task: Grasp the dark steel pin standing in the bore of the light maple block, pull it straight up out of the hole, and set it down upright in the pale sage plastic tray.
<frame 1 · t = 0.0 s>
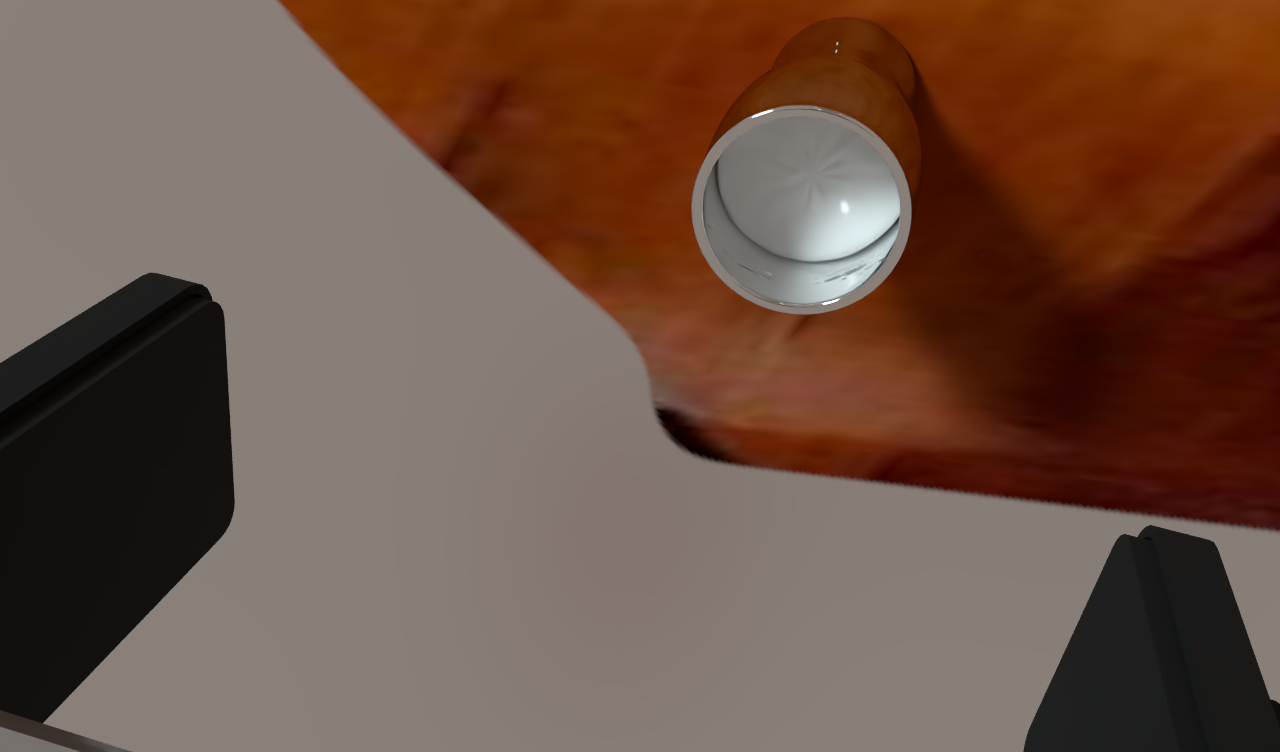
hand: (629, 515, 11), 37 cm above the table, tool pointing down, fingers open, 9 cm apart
beer glass: (841, 91, 46), on the table
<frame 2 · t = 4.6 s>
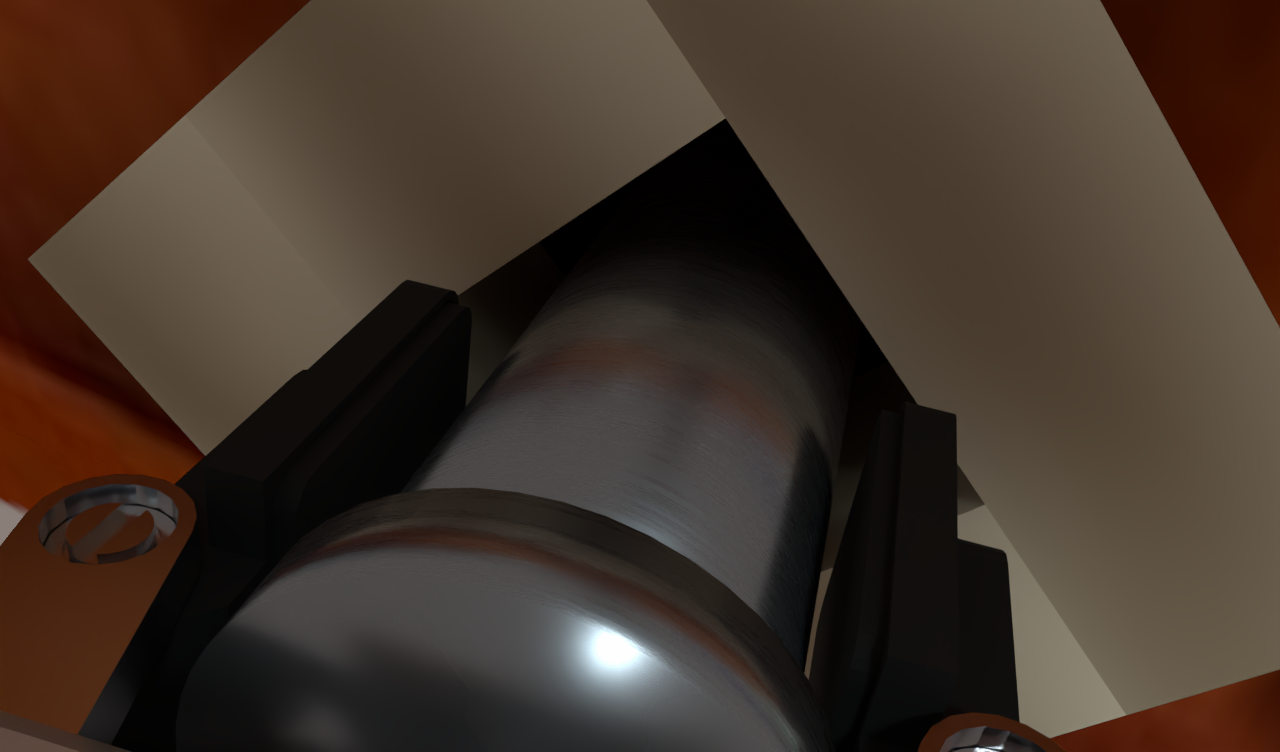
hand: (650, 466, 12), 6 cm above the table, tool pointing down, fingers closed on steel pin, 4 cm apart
steel pin: (658, 447, 12), in the pin block, touching gripper
pin block: (739, 262, 17), on the table
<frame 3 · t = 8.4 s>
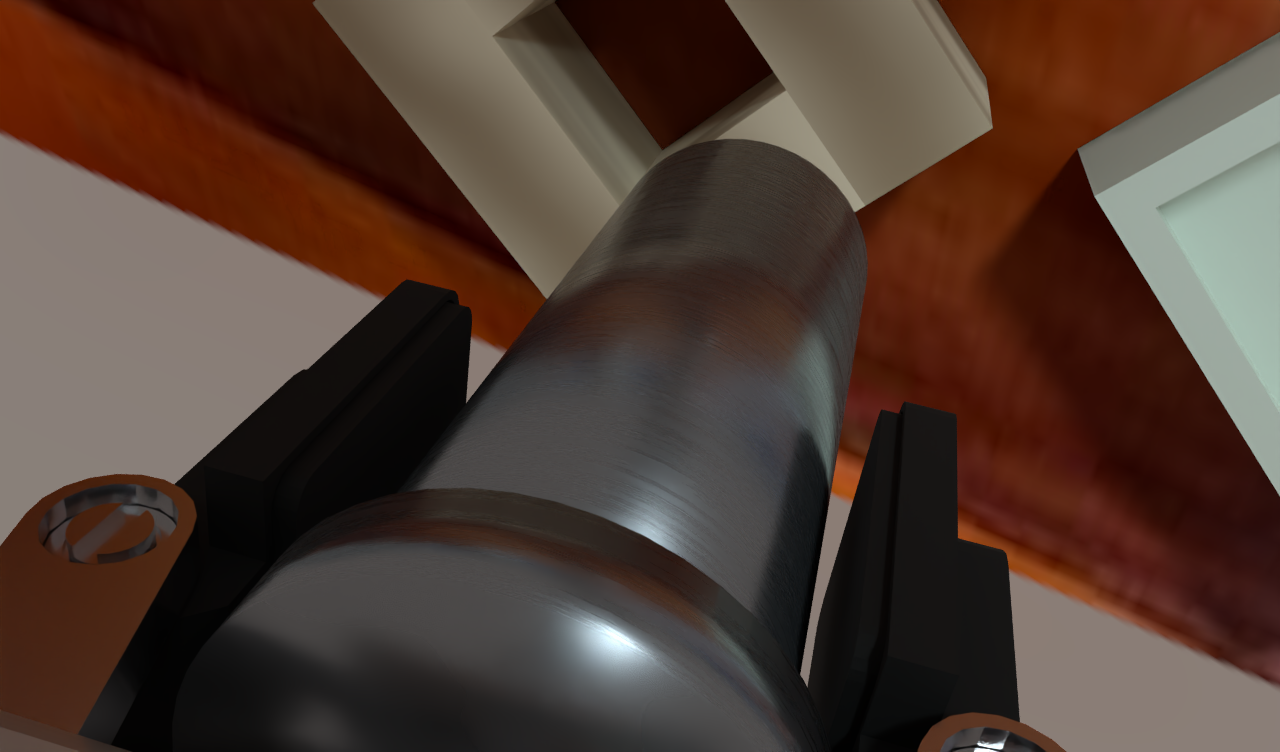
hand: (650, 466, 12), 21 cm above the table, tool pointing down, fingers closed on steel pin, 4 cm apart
steel pin: (656, 447, 12), point 21 cm above the table, touching gripper
pin block: (679, 24, 31), on the table
when the fingers open (8 cm above the table, at t = 12.3 s): steel pin drops 1 cm, resting on tray.
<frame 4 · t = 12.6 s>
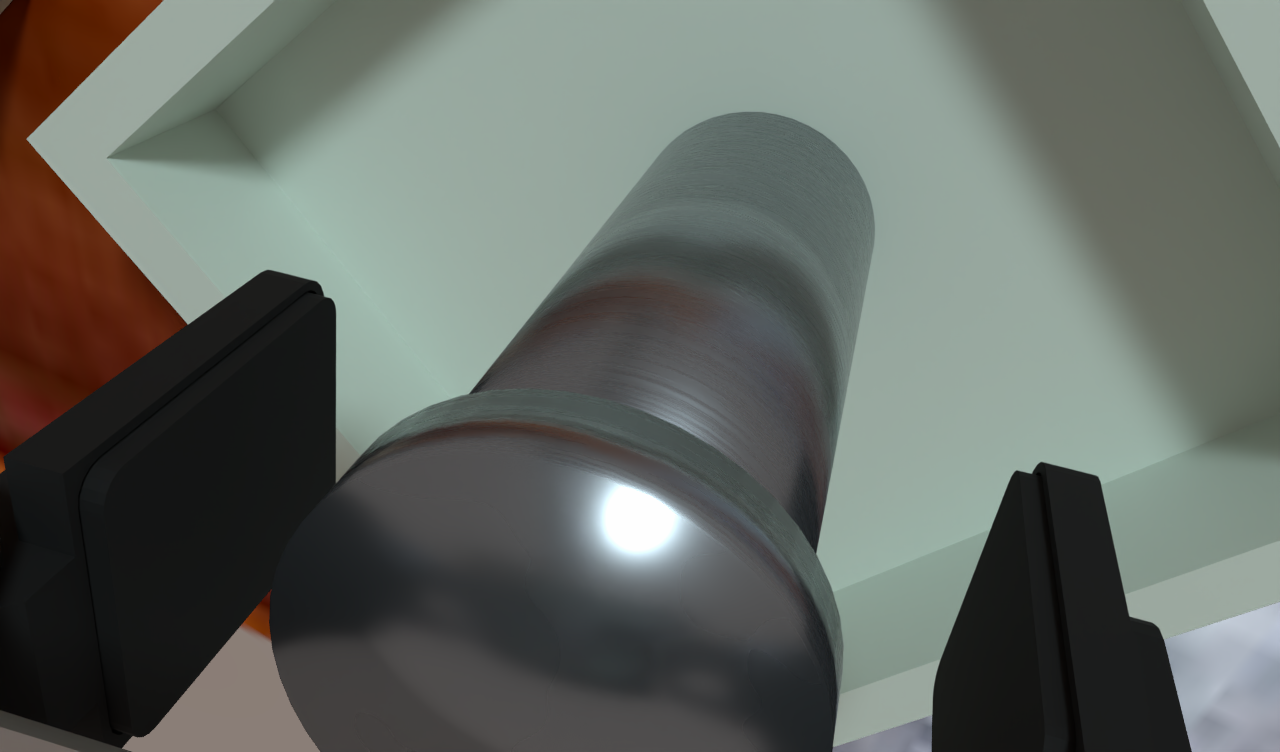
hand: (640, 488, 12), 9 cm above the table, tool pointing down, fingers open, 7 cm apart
tray: (761, 211, 19), on the table
steel pin: (681, 386, 14), in the tray, point 6 cm above the table
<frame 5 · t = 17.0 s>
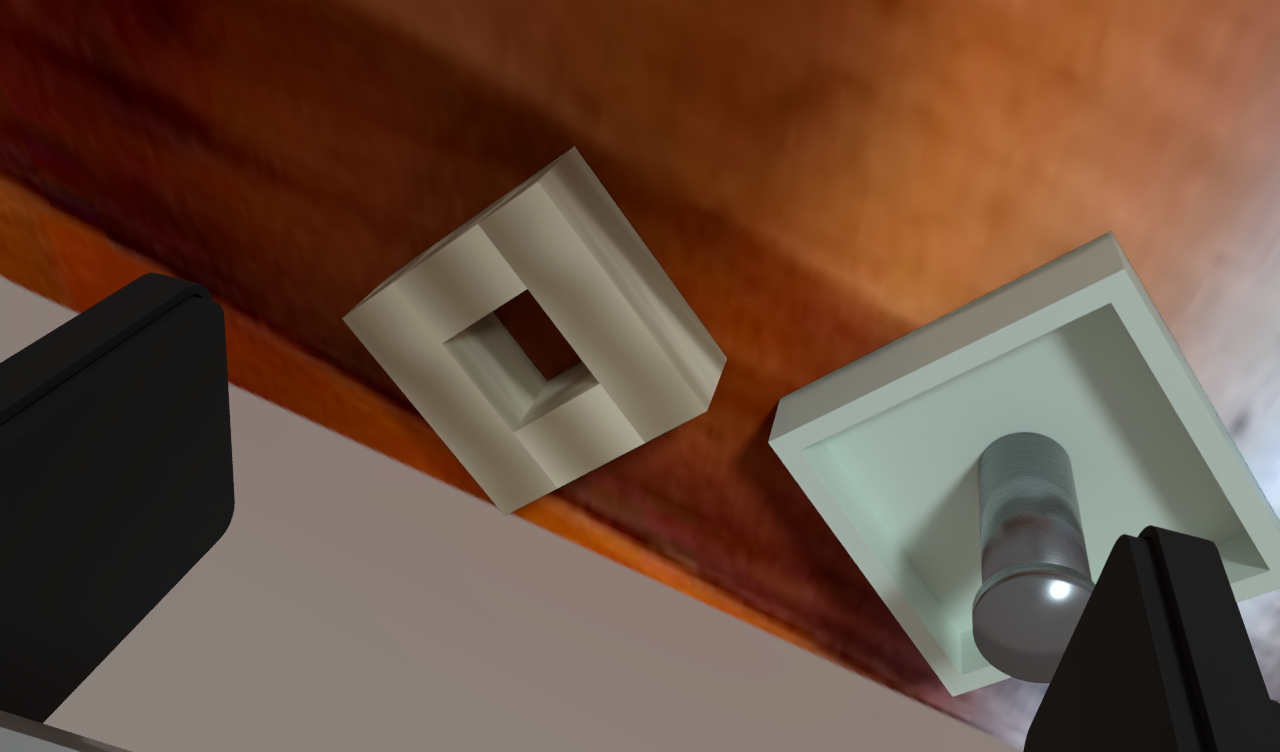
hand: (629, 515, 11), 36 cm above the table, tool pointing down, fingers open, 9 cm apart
tray: (1022, 459, 50), on the table
steel pin: (1031, 543, 45), in the tray, point 6 cm above the table
pin block: (554, 316, 53), on the table
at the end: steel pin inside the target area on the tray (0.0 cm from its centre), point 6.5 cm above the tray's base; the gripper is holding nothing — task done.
